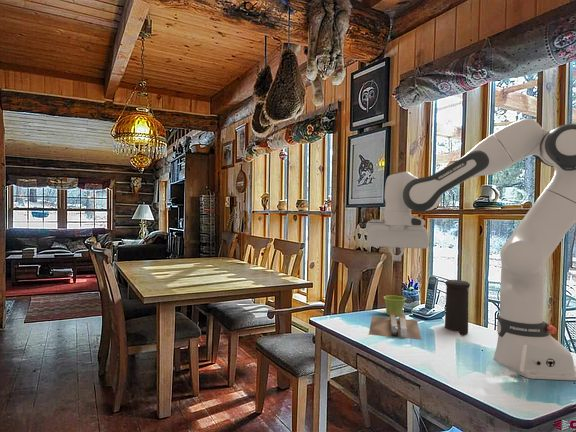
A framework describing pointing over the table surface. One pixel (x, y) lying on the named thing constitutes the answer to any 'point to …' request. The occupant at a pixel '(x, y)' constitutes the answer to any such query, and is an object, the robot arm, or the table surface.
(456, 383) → the table surface
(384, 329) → the walnut board
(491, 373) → the table surface
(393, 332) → the loose tong leg
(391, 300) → the plant pot
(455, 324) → the container
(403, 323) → the fixed tong leg
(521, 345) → the robot arm
